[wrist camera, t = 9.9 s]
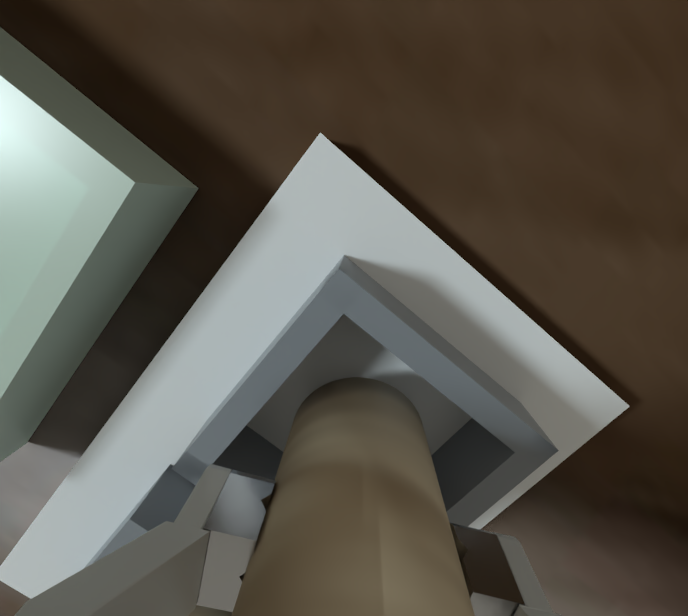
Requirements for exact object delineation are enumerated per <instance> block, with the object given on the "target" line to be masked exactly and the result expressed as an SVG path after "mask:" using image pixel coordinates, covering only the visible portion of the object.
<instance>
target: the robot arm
mask: <svg viewBox="0 0 688 616" xmlns="http://www.w3.org/2000/svg"><path fill="white" fill-rule="evenodd" d="M275 483H276V481H275V480H271V479H267V478H264V477H260V476H256V475H253V474H249V473H245V472H241V471H238V470H234V469H233V470H231V469H228V468H224V467H221V466H217V465H213V464H210V465H209V466H208V467H207V468H206V469H205V471H204V472H203V474H202V476H201V477H200V479H199V481H198V482H197V484H196V486H195V488H194V489H193V491H192V493H191V494H190V496H189V498H188V499H187V501H186V503H185V504H184V506H183V508H182V509H181V511H180V513H179V514H178V516H177V518H176V519H175V521H174V523H173V522H168V521H166V522H164V523H162V524H160V525H159V526H157V527H155V528H153V529H152V530H150V531H148V532H146V533H145V534H143V535H141V536H140V537H138V538H136V539H134V540H133V541H131V542H129V543H127V544H126V545H124V546H122V547H120V548H119V549H117V550H115V551H113V552H112V553H110V554H108V555H107V556H105V557H103V558H101V559H100V560H98V561H96V562H94V563H93V564H91V565H89V566H87V567H86V568H84V569H82V570H80V571H79V572H77V573H75V574H74V575H72V576H70V577H68V578H67V579H65V580H63V581H61V582H60V583H58V584H56V585H54V586H53V587H51V588H49V589H47V590H46V591H44V592H42V593H41V594H39V595H37V596H35V597H34V598H32V599H30V600H28V601H27V602H26V603H25V604H24V605H23V606H22V607H21V608H20V610H19V611H18V612H17V613H16V614H15V616H188V615H189V614H190V613H191V612H192V611H193V610H194V609H195V608H196V605H199V606H204V607H209V608H214V609H219V610H224V611H229V612H233V609H234V606H235V603H236V600H237V597H238V594H239V591H240V587H241V584H242V581H243V578H244V575H245V572H246V568H247V566H248V564H249V562H250V559H251V557H252V556H253V554H254V551H255V548H256V545H257V541H258V538H259V535H260V532H261V529H262V526H263V522H264V518H265V513H266V509H267V508H268V506H269V503H270V500H271V497H272V494H273V490H274V487H275ZM449 523H450V522H449ZM450 527H451V530H452V534H453V538H454V541H455V545H456V549H457V552H458V556H459V560H460V563H461V567H462V571H463V574H464V578H465V582H466V585H467V589H468V593H469V596H470V600H471V604H472V607H473V611H474V615H475V616H562V615H560V614H557V613H553V611H552V609H551V607H550V605H549V603H548V600H547V598H546V596H545V594H544V592H543V590H542V588H541V586H540V584H539V581H538V579H537V577H536V575H535V573H534V571H533V569H532V567H531V565H530V562H529V560H528V558H527V556H526V554H525V552H524V550H523V548H522V546H521V543H520V542H519V541H518V540H517V539H516V538H515V537H513V536H508V535H504V534H499V533H494V532H492V533H491V532H488V531H484V530H480V529H475V528H471V527H467V526H463V525H458V524H454V523H450Z"/></svg>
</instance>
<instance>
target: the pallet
mask: <svg viewBox="0 0 688 616" xmlns="http://www.w3.org/2000/svg"><path fill="white" fill-rule="evenodd" d="M352 377H362V378H370V379H374V380H378V381H381V382H384V383H386V384H389V385H390V386H392V387H394V388H396V389H397V390H399V391H400V392H401V393H403V394H404V395H405V396H406V397H407V398H408V399H409V400H410V401H411V402H412V404H413V405H414V406H415V408H416V410H417V411H418V413H419V415H420V418H421V420H422V424H423V428H424V431H425V435H426V439H427V442H428V446H429V450H430V453H431V457H432V461H433V464H434V468H435V472H436V475H437V479H438V483H439V486H440V490H441V494H442V497H443V501H444V505H445V508H446V512H447V516H448V519H449V522H450V523H454V524H458V525H463V526H467V527H471V528H475V529H481V528H482V527H484V526H485V525H486V524H487V523H489V522H490V521H491V520H492V519H493V518H495V517H496V516H497V515H498V514H499V513H501V512H502V511H503V510H504V509H506V508H507V507H508V506H509V505H510V504H512V503H513V502H514V501H515V500H516V499H518V498H519V497H520V496H521V495H523V494H524V493H525V492H526V491H527V490H529V489H530V488H531V487H532V486H534V485H535V484H536V483H537V482H538V481H540V480H541V479H542V478H543V477H544V476H546V475H547V474H548V473H549V472H551V471H552V470H553V469H554V468H555V467H557V466H558V465H559V464H560V463H561V462H563V461H564V460H565V459H566V458H568V457H569V456H570V455H571V454H572V453H574V452H575V451H576V450H577V449H578V448H580V447H581V446H582V445H583V444H585V443H586V442H587V441H588V440H589V439H591V438H592V437H593V436H594V435H596V434H597V433H598V432H599V431H600V430H602V429H603V428H604V427H605V426H606V425H608V424H609V423H610V422H611V421H613V420H614V419H615V418H616V417H617V416H619V415H620V414H621V413H622V412H623V411H625V410H626V409H627V408H628V407H630V406H629V405H628V404H627V403H625V402H624V401H623V400H622V399H621V398H620V397H619V396H618V395H616V394H615V393H614V392H613V391H612V390H611V389H610V388H609V387H607V386H606V385H605V384H604V383H603V382H602V381H601V380H599V379H598V378H597V377H596V376H595V375H594V374H593V373H592V372H590V371H589V370H588V369H587V368H586V367H585V366H584V365H582V364H581V363H580V362H579V361H578V360H577V359H576V358H575V357H573V356H572V355H571V354H570V353H569V352H568V351H567V350H566V349H564V348H563V347H562V346H561V345H560V344H559V343H558V342H556V341H555V340H554V339H553V338H552V337H551V336H550V335H549V334H547V333H546V332H545V331H544V330H543V329H542V328H541V327H540V326H538V325H537V324H536V323H535V322H534V321H533V320H532V319H530V318H529V317H528V316H527V315H526V314H525V313H524V312H523V311H521V310H520V309H519V308H518V307H517V306H516V305H515V304H513V303H512V302H511V301H510V300H509V299H508V298H507V297H506V296H504V295H503V294H502V293H501V292H500V291H499V290H498V289H497V288H495V287H494V286H493V285H492V284H491V283H490V282H489V281H487V280H486V279H485V278H484V277H483V276H482V275H481V274H480V273H478V272H477V271H476V270H475V269H474V268H473V267H472V266H471V265H469V264H468V263H467V262H466V261H465V260H464V259H463V258H461V257H460V256H459V255H458V254H457V253H456V252H455V251H454V250H452V249H451V248H450V247H449V246H448V245H447V244H446V243H444V242H443V241H442V240H441V239H440V238H439V237H438V236H437V235H435V234H434V233H433V232H432V231H431V230H430V229H429V228H428V227H426V226H425V225H424V224H423V223H422V222H421V221H420V220H418V219H417V218H416V217H415V216H414V215H413V214H412V213H411V212H409V211H408V210H407V209H406V208H405V207H404V206H403V205H402V204H400V203H399V202H398V201H397V200H396V199H395V198H394V197H392V196H391V195H390V194H389V193H388V192H387V191H386V190H385V189H383V188H382V187H381V186H380V185H379V184H378V183H377V182H375V181H374V180H373V179H372V178H371V177H370V176H369V175H368V174H366V173H365V172H364V171H363V170H362V169H361V168H360V167H359V166H357V165H356V164H355V163H354V162H353V161H352V160H351V159H349V158H348V157H347V156H346V155H345V154H344V153H343V152H342V151H340V150H339V149H338V148H337V147H336V146H335V145H334V144H332V143H331V142H330V141H329V140H328V139H327V138H326V137H325V136H323V135H322V134H321V133H320V134H319V135H318V136H317V138H316V139H315V140H314V142H313V143H312V145H311V146H310V147H309V149H308V150H307V151H306V153H305V154H304V155H303V157H302V158H301V159H300V161H299V162H298V163H297V165H296V166H295V168H294V169H293V170H292V172H291V173H290V174H289V176H288V177H287V178H286V180H285V181H284V182H283V184H282V185H281V187H280V188H279V189H278V191H277V192H276V193H275V195H274V196H273V197H272V199H271V200H270V201H269V203H268V204H267V206H266V207H265V208H264V210H263V211H262V212H261V214H260V215H259V216H258V218H257V219H256V220H255V222H254V223H253V224H252V226H251V227H250V229H249V230H248V231H247V233H246V234H245V235H244V237H243V238H242V239H241V241H240V242H239V243H238V245H237V246H236V248H235V249H234V250H233V252H232V253H231V254H230V256H229V257H228V258H227V260H226V261H225V262H224V264H223V265H222V267H221V268H220V269H219V271H218V272H217V273H216V275H215V276H214V277H213V279H212V280H211V281H210V283H209V284H208V285H207V287H206V288H205V290H204V291H203V292H202V294H201V295H200V296H199V298H198V299H197V300H196V302H195V303H194V304H193V306H192V307H191V309H190V310H189V311H188V313H187V314H186V315H185V317H184V318H183V319H182V321H181V322H180V323H179V325H178V326H177V328H176V329H175V330H174V332H173V333H172V334H171V336H170V337H169V338H168V340H167V341H166V342H165V344H164V345H163V346H162V348H161V349H160V351H159V352H158V353H157V355H156V356H155V357H154V359H153V360H152V361H151V363H150V364H149V365H148V367H147V368H146V370H145V371H144V372H143V374H142V375H141V376H140V378H139V379H138V380H137V382H136V383H135V384H134V386H133V387H132V389H131V390H130V391H129V393H128V394H127V395H126V397H125V398H124V399H123V401H122V402H121V403H120V405H119V406H118V407H117V409H116V410H115V412H114V413H113V414H112V416H111V417H110V418H109V420H108V421H107V422H106V424H105V425H104V426H103V428H102V429H101V431H100V432H99V433H98V435H97V436H96V437H95V439H94V440H93V441H92V443H91V444H90V445H89V447H88V448H87V450H86V451H85V452H84V454H83V455H82V456H81V458H80V459H79V460H78V462H77V463H76V464H75V466H74V467H73V468H72V470H71V471H70V473H69V474H68V475H67V477H66V478H65V479H64V481H63V482H62V483H61V485H60V486H59V487H58V489H57V490H56V492H55V493H54V494H53V496H52V497H51V498H50V500H49V501H48V502H47V504H46V505H45V506H44V508H43V509H42V511H41V512H40V513H39V515H38V516H37V517H36V519H35V520H34V521H33V523H32V524H31V525H30V527H29V528H28V529H27V531H26V532H25V534H24V535H23V536H22V538H21V539H20V540H19V542H18V543H17V544H16V546H15V547H14V548H13V550H12V551H11V553H10V554H9V555H8V557H7V558H6V559H5V561H4V562H3V563H2V565H1V566H0V581H2V582H4V583H5V584H7V585H9V586H10V587H12V588H14V589H15V590H17V591H19V592H21V593H22V594H24V595H26V596H27V597H29V598H31V599H32V598H34V597H35V596H37V595H39V594H41V593H42V592H44V591H46V590H47V589H49V588H51V587H53V586H54V585H56V584H58V583H60V582H61V581H63V580H65V579H67V578H68V577H70V576H72V575H74V574H75V573H77V572H79V571H80V570H82V569H84V568H86V567H87V566H89V565H91V564H93V563H94V562H96V561H98V560H100V559H101V558H103V557H105V556H107V555H108V554H110V553H112V552H113V551H115V550H117V549H119V548H120V547H122V546H124V545H126V544H127V543H129V542H131V541H133V540H134V539H136V538H138V537H140V536H141V535H143V534H145V533H146V532H148V531H150V530H152V529H153V528H155V527H157V526H159V525H160V524H162V523H164V522H166V521H168V522H173V523H174V521H175V519H176V518H177V516H178V514H179V513H180V511H181V509H182V508H183V506H184V504H185V503H186V501H187V499H188V498H189V496H190V494H191V493H192V491H193V489H194V488H195V486H196V484H197V482H198V481H199V479H200V477H201V476H202V474H203V472H204V471H205V469H206V468H207V467H208V466H209V465H210V464H213V465H217V466H221V467H224V468H228V469H231V470H233V469H234V470H238V471H241V472H245V473H249V474H253V475H256V476H260V477H264V478H267V479H271V480H275V477H276V474H277V471H278V468H279V465H280V461H281V458H282V455H283V452H284V449H285V446H286V443H287V439H288V436H289V433H290V430H291V427H292V424H293V421H294V417H295V415H296V413H297V410H298V409H299V407H300V405H301V404H302V403H303V401H304V400H305V399H306V398H307V397H308V396H309V395H310V394H311V393H312V392H313V391H315V390H316V389H318V388H319V387H321V386H323V385H325V384H327V383H329V382H332V381H335V380H339V379H343V378H352Z"/></svg>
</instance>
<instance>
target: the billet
mask: <svg viewBox="0 0 688 616" xmlns="http://www.w3.org/2000/svg"><path fill="white" fill-rule="evenodd" d="M275 481H276V483H275V487H274V490H273V494H272V497H271V500H270V503H269V506H268V508H267V509H266V513H265V518H264V522H263V526H262V529H261V532H260V535H259V538H258V541H257V545H256V548H255V551H254V554H253V556H252V557H251V559H250V562H249V564H248V566H247V568H246V572H245V575H244V578H243V581H242V584H241V587H240V591H239V594H238V597H237V600H236V603H235V606H234V609H233V613H232V616H475V615H474V611H473V607H472V604H471V600H470V596H469V593H468V589H467V585H466V582H465V578H464V574H463V571H462V567H461V563H460V560H459V556H458V552H457V549H456V545H455V541H454V538H453V534H452V530H451V527H450V523H449V519H448V516H447V512H446V508H445V505H444V501H443V497H442V494H441V490H440V486H439V483H438V479H437V475H436V472H435V468H434V464H433V461H432V457H431V453H430V450H429V446H428V442H427V439H426V435H425V431H424V428H423V424H422V420H421V418H420V415H419V413H418V411H417V410H416V408H415V406H414V405H413V404H412V402H411V401H410V400H409V399H408V398H407V397H406V396H405V395H404V394H403V393H401V392H400V391H399V390H397V389H396V388H394V387H392V386H390V385H389V384H386V383H384V382H381V381H378V380H374V379H370V378H362V377H352V378H343V379H339V380H335V381H332V382H329V383H327V384H325V385H323V386H321V387H319V388H318V389H316V390H315V391H313V392H312V393H311V394H310V395H309V396H308V397H307V398H306V399H305V400H304V401H303V403H302V404H301V405H300V407H299V409H298V410H297V413H296V415H295V417H294V421H293V424H292V427H291V430H290V433H289V436H288V439H287V443H286V446H285V449H284V452H283V455H282V458H281V461H280V465H279V468H278V471H277V474H276V477H275Z"/></svg>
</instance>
